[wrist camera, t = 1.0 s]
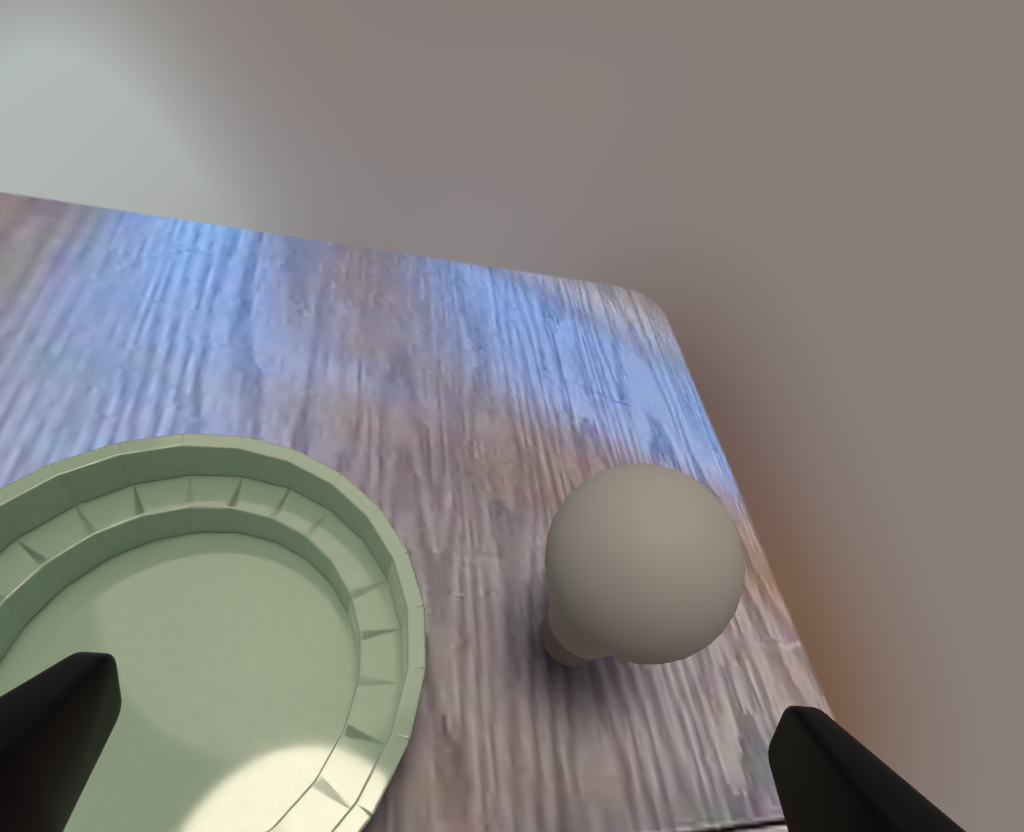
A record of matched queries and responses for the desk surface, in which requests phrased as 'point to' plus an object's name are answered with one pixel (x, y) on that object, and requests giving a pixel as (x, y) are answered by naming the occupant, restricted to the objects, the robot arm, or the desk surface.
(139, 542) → the bowl
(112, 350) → the desk surface
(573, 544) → the lightbulb
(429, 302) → the desk surface
